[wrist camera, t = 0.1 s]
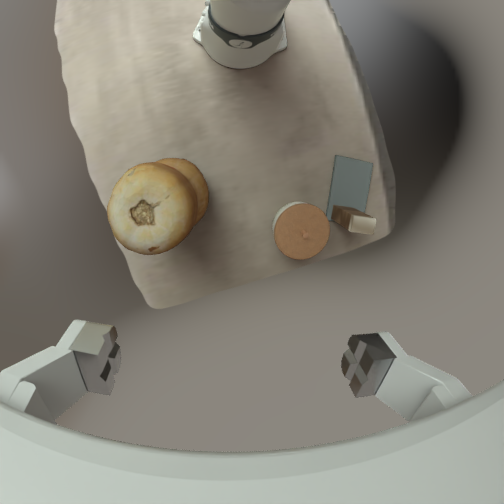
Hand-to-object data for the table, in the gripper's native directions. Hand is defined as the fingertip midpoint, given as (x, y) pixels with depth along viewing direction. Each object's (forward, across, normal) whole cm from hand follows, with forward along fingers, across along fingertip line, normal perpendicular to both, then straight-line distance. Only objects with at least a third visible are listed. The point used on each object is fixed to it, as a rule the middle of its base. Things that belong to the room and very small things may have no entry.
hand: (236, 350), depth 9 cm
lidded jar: (+48, -15, +7) cm, 51 cm away
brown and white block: (+47, -26, +3) cm, 54 cm away
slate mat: (+48, -27, -2) cm, 55 cm away
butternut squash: (+48, +9, +2) cm, 49 cm away
